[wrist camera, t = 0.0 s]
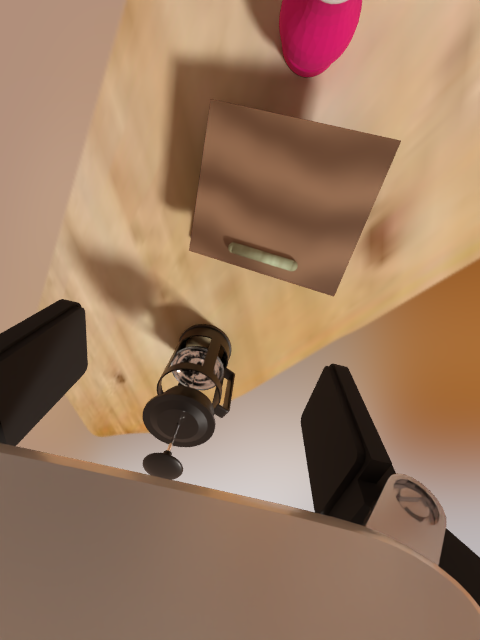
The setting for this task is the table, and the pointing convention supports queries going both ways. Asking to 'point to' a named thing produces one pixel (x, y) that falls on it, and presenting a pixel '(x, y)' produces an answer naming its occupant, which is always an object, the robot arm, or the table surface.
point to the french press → (188, 399)
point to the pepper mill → (316, 32)
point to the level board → (286, 193)
